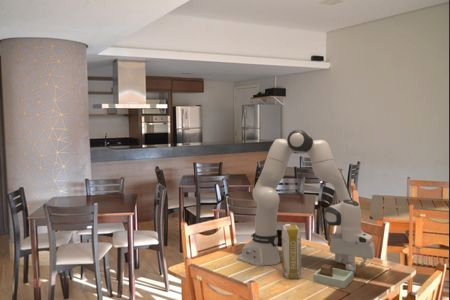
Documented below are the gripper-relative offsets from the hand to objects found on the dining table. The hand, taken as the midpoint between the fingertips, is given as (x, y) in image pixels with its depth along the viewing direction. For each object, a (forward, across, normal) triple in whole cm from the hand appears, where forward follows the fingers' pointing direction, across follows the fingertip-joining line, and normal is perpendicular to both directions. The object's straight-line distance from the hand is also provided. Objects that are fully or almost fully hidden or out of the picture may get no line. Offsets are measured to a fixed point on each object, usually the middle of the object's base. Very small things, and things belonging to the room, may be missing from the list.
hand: (352, 264), depth 184 cm
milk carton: (+4, -8, +14) cm, 17 cm away
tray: (+4, -5, -12) cm, 13 cm away
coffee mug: (+4, -47, +23) cm, 52 cm away
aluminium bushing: (+4, 0, -1) cm, 4 cm away
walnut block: (+3, -8, -12) cm, 15 cm away
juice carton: (+4, -23, -16) cm, 28 cm away
